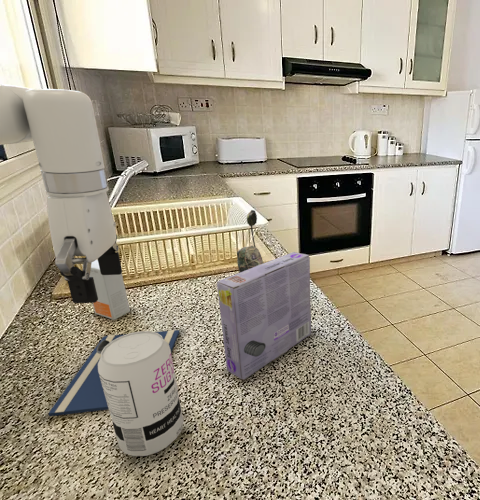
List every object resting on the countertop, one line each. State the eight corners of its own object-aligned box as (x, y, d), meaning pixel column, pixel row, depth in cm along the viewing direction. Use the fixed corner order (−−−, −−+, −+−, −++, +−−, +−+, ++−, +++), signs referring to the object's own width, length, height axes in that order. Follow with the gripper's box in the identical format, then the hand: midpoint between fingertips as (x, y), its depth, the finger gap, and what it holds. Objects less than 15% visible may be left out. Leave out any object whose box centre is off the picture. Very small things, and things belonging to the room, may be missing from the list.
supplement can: (123, 422, 55) (100, 336, 49) (184, 406, 58) (169, 323, 52) (115, 468, 48) (88, 374, 42) (184, 447, 51) (167, 357, 46)
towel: (49, 416, 55) (47, 413, 55) (104, 338, 74) (103, 335, 73) (150, 404, 58) (149, 401, 58) (179, 332, 76) (179, 329, 76)
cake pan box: (298, 323, 80) (296, 247, 74) (316, 332, 78) (315, 253, 71) (224, 371, 66) (213, 281, 59) (243, 383, 63) (233, 290, 56)
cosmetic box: (94, 314, 82) (81, 264, 77) (112, 305, 85) (100, 257, 81) (113, 320, 80) (101, 270, 75) (131, 311, 83) (120, 262, 79)
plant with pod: (229, 293, 92) (220, 215, 85) (261, 277, 101) (256, 205, 94) (253, 302, 88) (246, 222, 81) (284, 284, 97) (281, 210, 90)
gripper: (76, 170, 61) (97, 266, 67) (7, 195, 45) (43, 316, 52) (126, 171, 63) (142, 264, 69) (76, 195, 47) (103, 313, 53)
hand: (99, 287), depth 60 cm, fingers open, 9 cm apart
